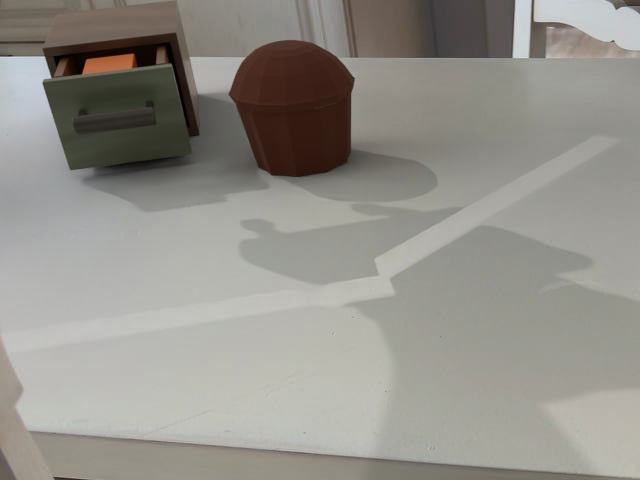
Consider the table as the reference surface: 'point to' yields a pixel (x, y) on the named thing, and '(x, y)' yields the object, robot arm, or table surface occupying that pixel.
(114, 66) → the orange block
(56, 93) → the drawer
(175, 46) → the cabinet
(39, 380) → the table surface
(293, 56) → the muffin
